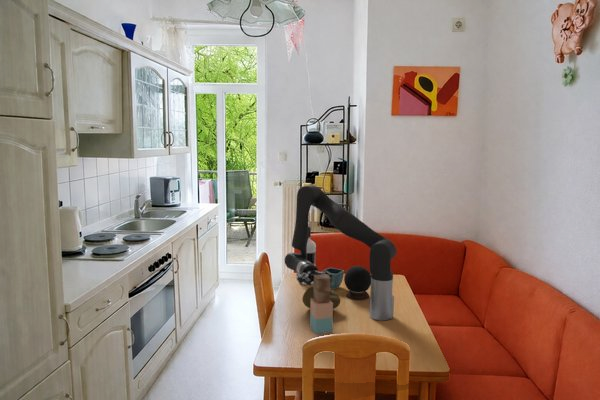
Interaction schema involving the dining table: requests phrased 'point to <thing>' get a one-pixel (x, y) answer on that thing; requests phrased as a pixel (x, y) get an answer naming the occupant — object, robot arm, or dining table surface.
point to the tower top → (321, 309)
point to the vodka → (310, 252)
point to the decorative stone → (310, 294)
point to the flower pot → (335, 277)
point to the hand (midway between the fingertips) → (320, 282)
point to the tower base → (321, 325)
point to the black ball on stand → (357, 283)
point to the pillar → (322, 288)
